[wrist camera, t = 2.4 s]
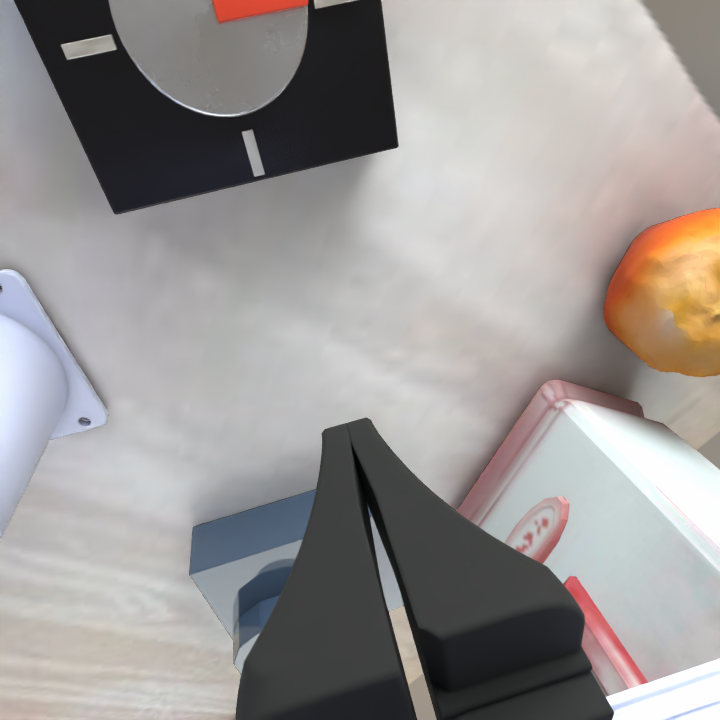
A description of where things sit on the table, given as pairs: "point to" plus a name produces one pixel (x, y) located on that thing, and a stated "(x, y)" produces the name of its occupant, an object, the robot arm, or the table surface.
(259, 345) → the table surface
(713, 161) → the table surface
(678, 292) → the fruit
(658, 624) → the bottle
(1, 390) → the robot arm
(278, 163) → the tap plate
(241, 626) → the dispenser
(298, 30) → the rotary dial knob
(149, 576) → the table surface
